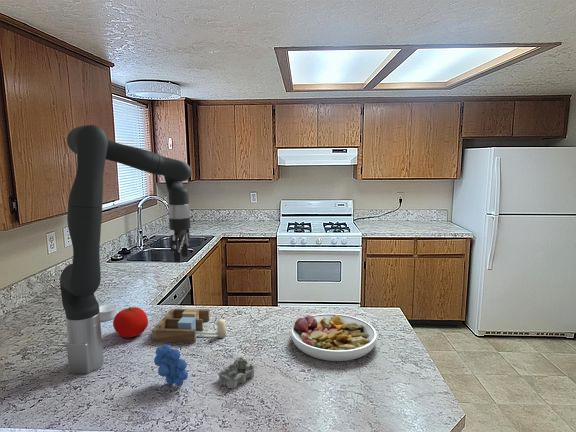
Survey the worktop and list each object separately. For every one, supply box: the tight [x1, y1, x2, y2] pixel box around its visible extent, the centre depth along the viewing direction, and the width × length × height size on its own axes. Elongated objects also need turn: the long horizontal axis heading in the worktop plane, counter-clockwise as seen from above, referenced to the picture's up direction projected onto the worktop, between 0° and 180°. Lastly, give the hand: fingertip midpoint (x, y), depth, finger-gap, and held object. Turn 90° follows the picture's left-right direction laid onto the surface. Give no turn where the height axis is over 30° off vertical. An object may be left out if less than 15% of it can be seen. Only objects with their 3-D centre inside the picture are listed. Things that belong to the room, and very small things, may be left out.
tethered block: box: [178, 317, 227, 339], centre depth 140 cm, size 5×17×6 cm, turn 87°
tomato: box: [112, 306, 149, 339], centre depth 141 cm, size 11×12×10 cm
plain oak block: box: [182, 308, 200, 319], centre depth 150 cm, size 5×5×6 cm
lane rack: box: [151, 308, 210, 344], centre depth 145 cm, size 20×16×4 cm
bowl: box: [290, 313, 378, 362], centre depth 135 cm, size 30×30×8 cm
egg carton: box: [216, 356, 257, 389], centre depth 113 cm, size 11×8×4 cm
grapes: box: [153, 343, 189, 387], centre depth 109 cm, size 12×7×12 cm, turn 67°
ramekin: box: [99, 303, 119, 322], centre depth 157 cm, size 9×9×4 cm
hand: (181, 259), depth 142 cm, fingers open, 8 cm apart
